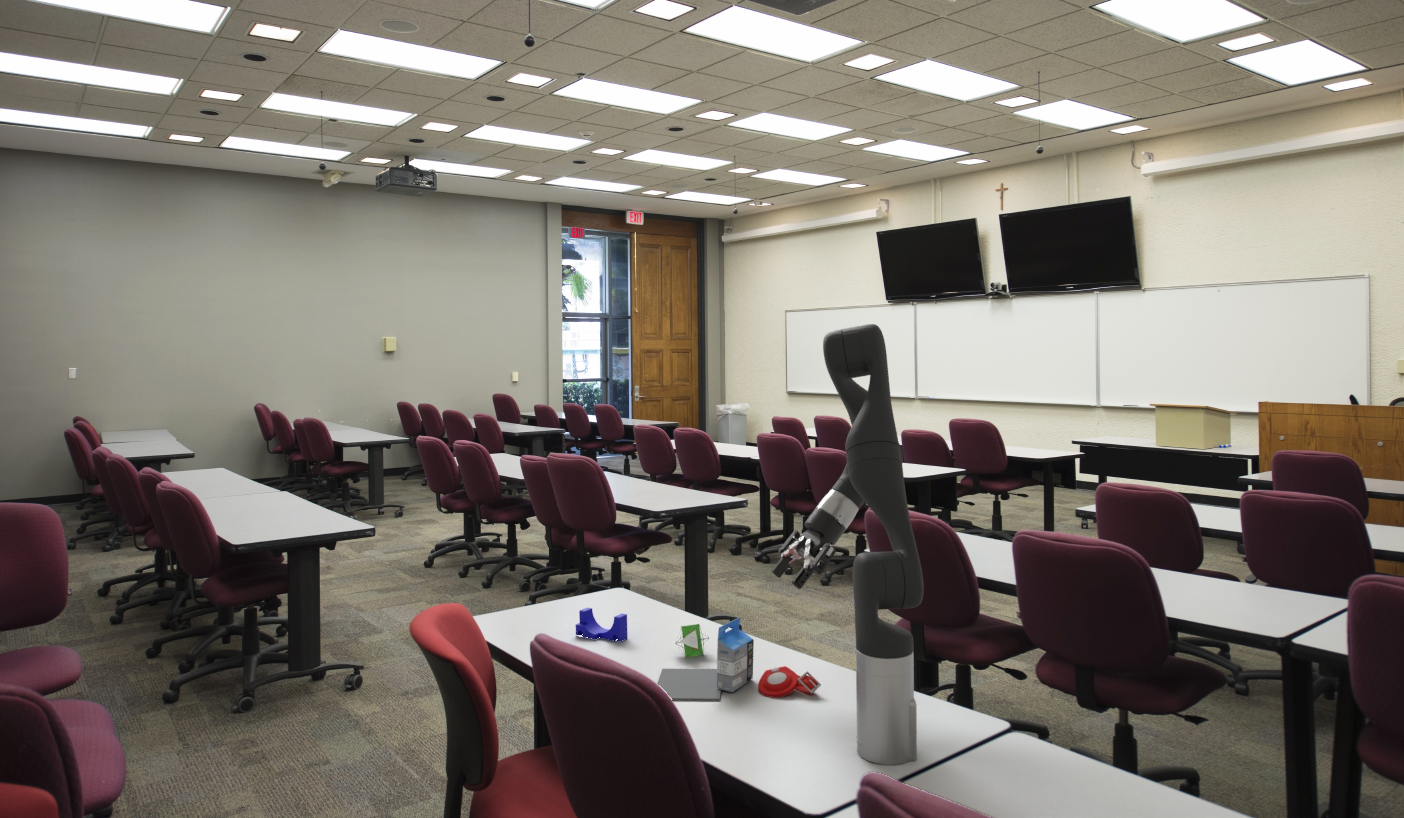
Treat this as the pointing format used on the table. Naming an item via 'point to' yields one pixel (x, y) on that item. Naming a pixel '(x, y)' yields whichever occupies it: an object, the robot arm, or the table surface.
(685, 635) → the geometric puzzle
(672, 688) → the mat
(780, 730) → the table surface
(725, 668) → the label tape box
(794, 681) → the tracker holder
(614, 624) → the blue cradle support
